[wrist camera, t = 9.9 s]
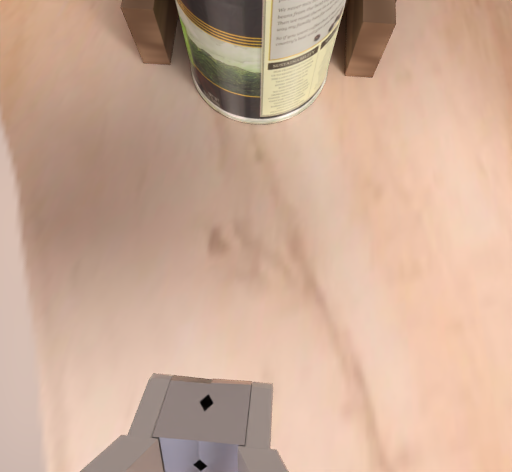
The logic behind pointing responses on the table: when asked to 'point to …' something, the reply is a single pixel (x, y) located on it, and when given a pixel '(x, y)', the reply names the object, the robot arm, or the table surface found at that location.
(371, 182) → the table surface
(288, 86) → the coffee can
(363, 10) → the walnut rail
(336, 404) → the table surface
